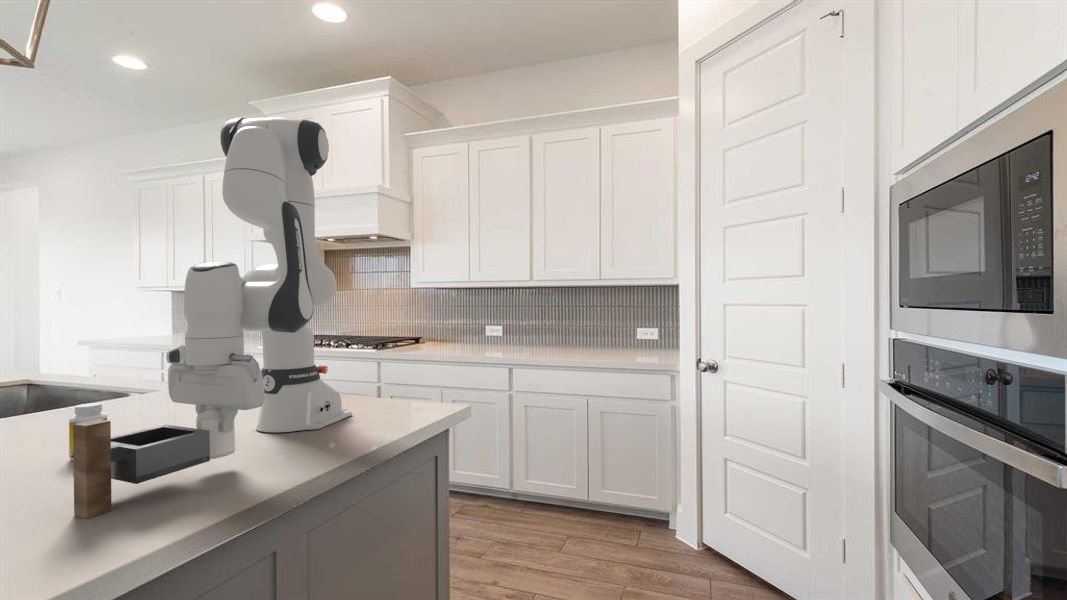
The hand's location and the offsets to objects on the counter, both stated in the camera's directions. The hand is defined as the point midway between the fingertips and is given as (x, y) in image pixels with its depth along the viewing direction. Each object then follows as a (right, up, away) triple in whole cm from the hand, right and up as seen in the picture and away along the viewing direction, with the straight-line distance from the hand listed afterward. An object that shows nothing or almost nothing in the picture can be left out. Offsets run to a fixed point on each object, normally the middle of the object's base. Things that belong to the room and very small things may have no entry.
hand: (217, 430), depth 90 cm
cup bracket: (-5, -7, -12) cm, 15 cm away
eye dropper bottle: (0, -5, 0) cm, 5 cm away
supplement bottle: (-30, -8, +8) cm, 32 cm away
